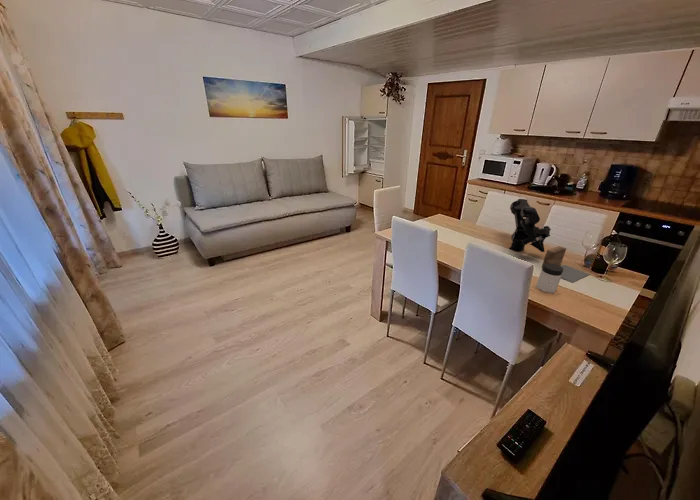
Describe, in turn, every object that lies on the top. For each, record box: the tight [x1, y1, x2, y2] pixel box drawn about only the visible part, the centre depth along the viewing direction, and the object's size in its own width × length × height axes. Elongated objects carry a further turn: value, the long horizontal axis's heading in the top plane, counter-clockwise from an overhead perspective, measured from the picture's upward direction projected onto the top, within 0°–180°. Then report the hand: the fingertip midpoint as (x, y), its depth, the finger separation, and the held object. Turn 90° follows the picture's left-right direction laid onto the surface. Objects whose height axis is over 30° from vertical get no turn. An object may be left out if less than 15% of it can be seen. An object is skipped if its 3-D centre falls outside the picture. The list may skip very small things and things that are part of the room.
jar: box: [535, 263, 563, 294], centre depth 143 cm, size 9×8×12 cm
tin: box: [583, 253, 620, 272], centre depth 165 cm, size 15×3×8 cm, turn 62°
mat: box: [560, 264, 591, 284], centre depth 160 cm, size 13×18×1 cm
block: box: [541, 245, 567, 269], centre depth 165 cm, size 4×12×11 cm, turn 120°
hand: (543, 251), depth 169 cm, fingers closed
